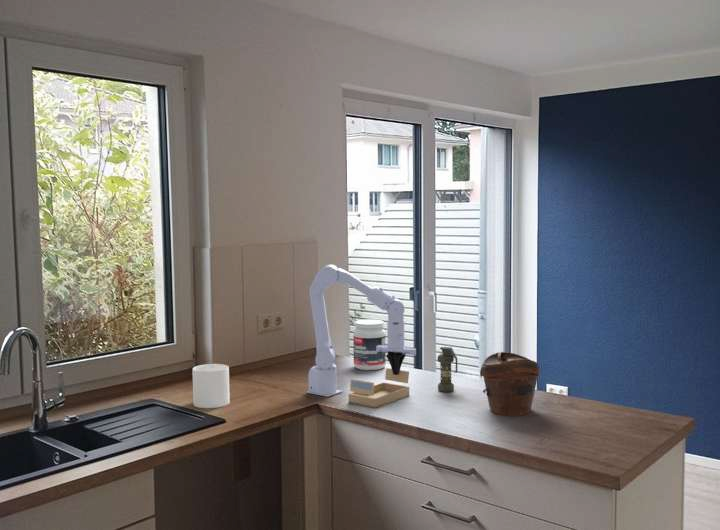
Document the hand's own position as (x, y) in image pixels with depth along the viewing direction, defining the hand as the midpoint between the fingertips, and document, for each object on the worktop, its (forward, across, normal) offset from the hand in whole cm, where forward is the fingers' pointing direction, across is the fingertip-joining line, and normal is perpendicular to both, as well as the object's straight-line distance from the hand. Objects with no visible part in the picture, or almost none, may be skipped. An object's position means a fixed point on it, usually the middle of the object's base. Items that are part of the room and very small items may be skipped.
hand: (396, 374), depth 247 cm
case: (+7, +41, 0) cm, 41 cm away
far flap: (+1, 0, 0) cm, 1 cm away
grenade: (+7, +14, +12) cm, 19 cm away
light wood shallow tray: (+7, -1, -9) cm, 12 cm away
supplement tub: (+7, -29, +29) cm, 41 cm away
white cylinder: (+7, -46, -42) cm, 62 cm away
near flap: (+1, -2, -19) cm, 19 cm away
